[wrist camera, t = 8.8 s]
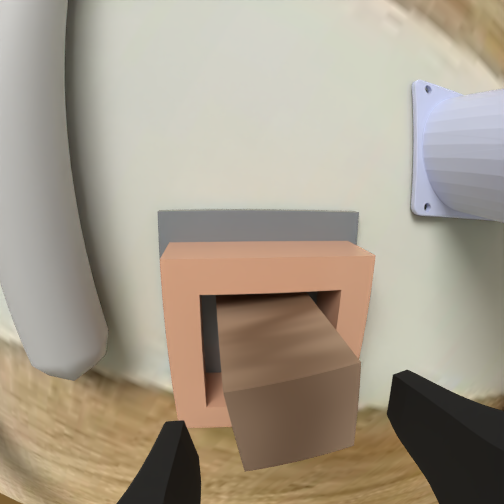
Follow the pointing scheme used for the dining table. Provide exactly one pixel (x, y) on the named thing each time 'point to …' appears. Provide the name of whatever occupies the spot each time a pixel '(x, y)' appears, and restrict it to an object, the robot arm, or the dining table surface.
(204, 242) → the socket
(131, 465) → the dining table surface
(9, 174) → the tube
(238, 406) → the peg
